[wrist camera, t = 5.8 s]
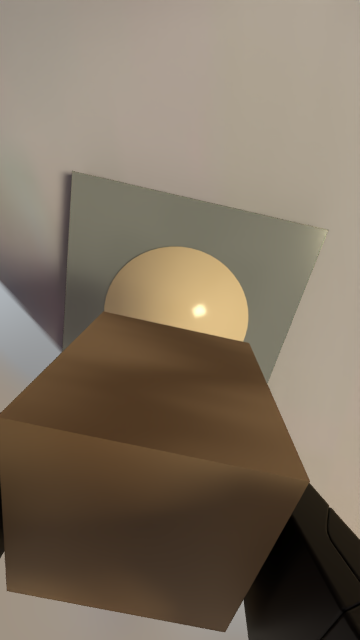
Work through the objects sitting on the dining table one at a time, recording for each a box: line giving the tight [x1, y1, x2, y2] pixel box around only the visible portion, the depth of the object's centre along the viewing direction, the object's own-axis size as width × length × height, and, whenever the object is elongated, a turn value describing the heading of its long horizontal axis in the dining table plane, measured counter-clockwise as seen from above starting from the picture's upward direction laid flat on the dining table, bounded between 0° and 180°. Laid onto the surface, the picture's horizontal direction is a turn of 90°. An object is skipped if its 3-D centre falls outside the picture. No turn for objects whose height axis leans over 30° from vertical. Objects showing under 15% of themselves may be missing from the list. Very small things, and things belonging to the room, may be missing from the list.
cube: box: [0, 311, 310, 632], centre depth 7 cm, size 5×5×5 cm
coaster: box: [62, 171, 328, 383], centre depth 17 cm, size 14×14×1 cm
